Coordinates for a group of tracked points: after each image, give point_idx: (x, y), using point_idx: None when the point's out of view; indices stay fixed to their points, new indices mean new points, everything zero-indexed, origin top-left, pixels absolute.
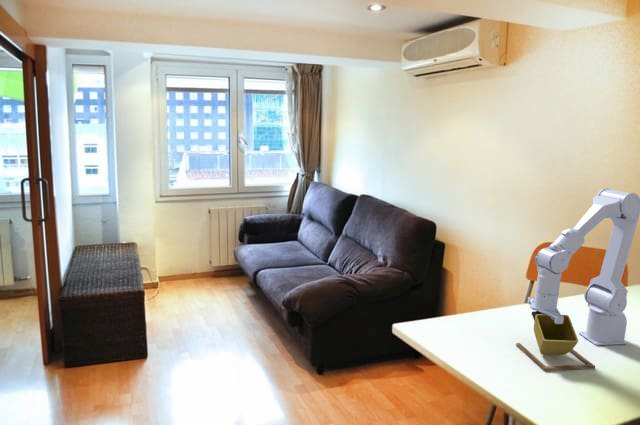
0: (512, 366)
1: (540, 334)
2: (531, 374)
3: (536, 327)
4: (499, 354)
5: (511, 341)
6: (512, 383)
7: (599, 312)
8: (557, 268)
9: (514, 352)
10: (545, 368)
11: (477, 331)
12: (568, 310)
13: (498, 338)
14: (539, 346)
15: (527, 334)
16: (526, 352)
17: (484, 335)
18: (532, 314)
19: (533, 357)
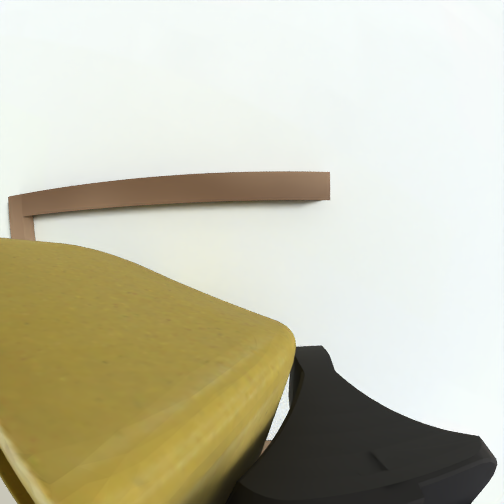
0: (73, 49)
1: None
2: (7, 121)
3: (106, 321)
4: (206, 15)
5: (388, 178)
6: None
7: None
8: None
9: (224, 112)
10: (10, 204)
11: (488, 62)
12: (486, 492)
13: (427, 117)
14: (90, 252)
15: (445, 332)
16: (174, 175)
17: (454, 63)
18: (455, 448)
19: (102, 190)
